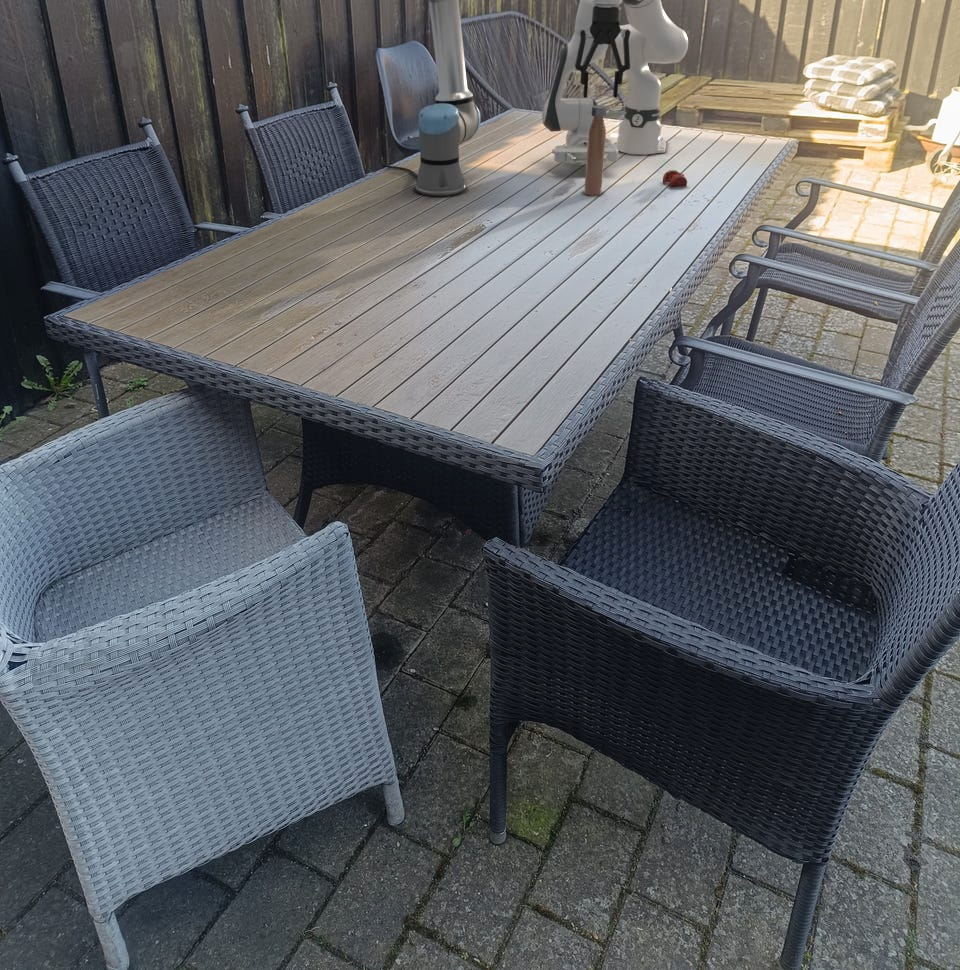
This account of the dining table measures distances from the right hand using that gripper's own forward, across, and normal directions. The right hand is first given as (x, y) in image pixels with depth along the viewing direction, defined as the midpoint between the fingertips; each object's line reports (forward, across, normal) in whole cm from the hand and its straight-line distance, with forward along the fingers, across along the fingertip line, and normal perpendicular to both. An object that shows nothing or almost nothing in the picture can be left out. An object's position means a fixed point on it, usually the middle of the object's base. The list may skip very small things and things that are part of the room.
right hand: (588, 160), depth 261 cm
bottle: (+12, 0, +6) cm, 13 cm away
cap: (+12, 0, -18) cm, 21 cm away
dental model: (+4, +27, +6) cm, 28 cm away
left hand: (+12, 0, -21) cm, 24 cm away
